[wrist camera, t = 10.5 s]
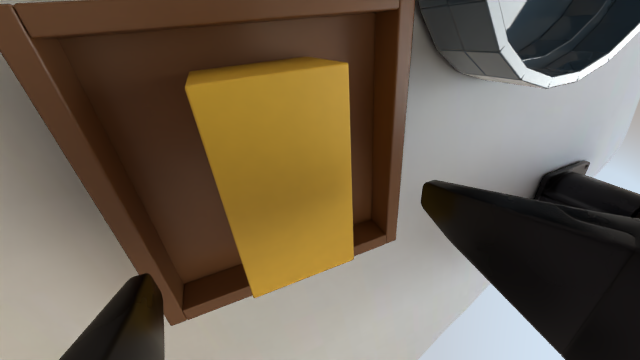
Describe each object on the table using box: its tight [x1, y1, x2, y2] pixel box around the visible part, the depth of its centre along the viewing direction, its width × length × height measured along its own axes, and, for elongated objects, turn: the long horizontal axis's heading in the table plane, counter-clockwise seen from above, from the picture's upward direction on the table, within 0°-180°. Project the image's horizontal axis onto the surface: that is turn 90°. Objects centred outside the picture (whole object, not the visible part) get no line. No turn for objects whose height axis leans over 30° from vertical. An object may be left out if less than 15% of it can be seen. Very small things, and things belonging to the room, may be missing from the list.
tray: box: [0, 0, 415, 326], centre depth 13 cm, size 14×14×2 cm
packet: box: [185, 56, 354, 298], centre depth 12 cm, size 5×9×4 cm, turn 4°
